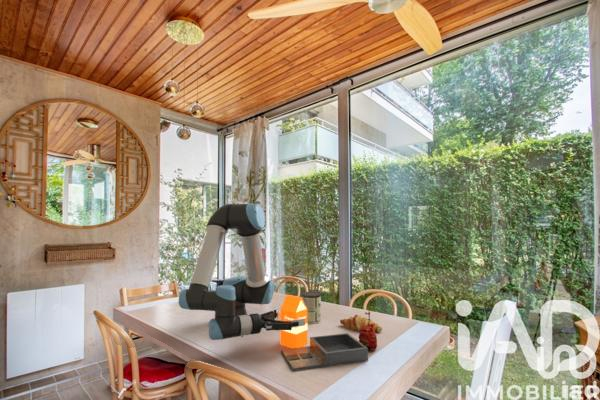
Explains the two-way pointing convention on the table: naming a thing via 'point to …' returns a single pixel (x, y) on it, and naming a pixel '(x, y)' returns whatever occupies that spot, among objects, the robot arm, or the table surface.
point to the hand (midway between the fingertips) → (297, 317)
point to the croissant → (359, 323)
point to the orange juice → (291, 311)
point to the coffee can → (312, 306)
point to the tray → (326, 352)
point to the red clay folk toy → (368, 336)
